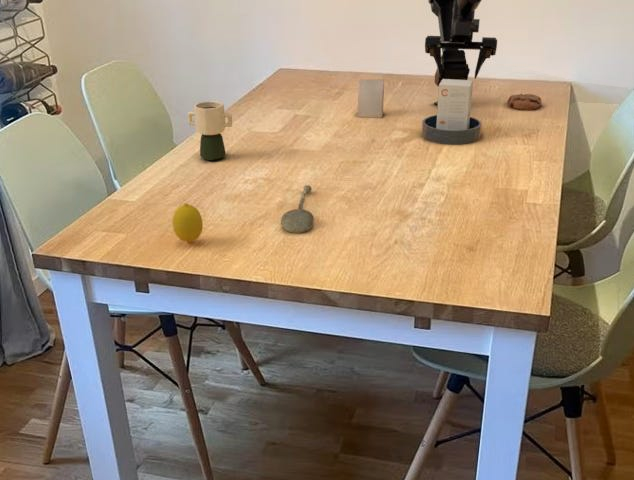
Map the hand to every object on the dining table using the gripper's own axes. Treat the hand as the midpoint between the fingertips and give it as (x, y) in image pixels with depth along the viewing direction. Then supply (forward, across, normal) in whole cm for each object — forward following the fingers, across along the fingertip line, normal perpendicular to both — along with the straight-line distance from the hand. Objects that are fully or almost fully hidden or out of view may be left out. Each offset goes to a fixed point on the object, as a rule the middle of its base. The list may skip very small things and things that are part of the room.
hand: (457, 77), depth 205 cm
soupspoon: (+47, -28, -50) cm, 74 cm away
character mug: (+31, -57, -25) cm, 70 cm away
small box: (+15, 0, -1) cm, 15 cm away
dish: (+16, 0, -2) cm, 16 cm away
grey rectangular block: (+8, -24, +11) cm, 27 cm away
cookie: (-1, +20, +26) cm, 32 cm away
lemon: (+57, -46, -66) cm, 99 cm away
